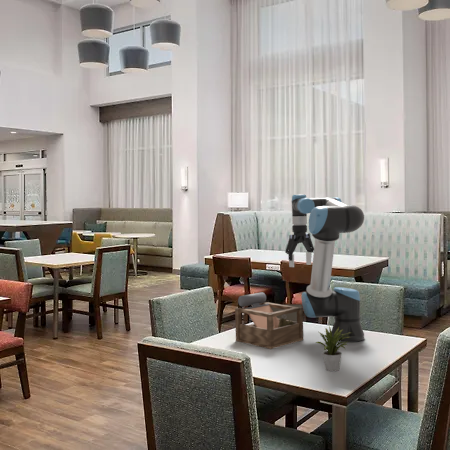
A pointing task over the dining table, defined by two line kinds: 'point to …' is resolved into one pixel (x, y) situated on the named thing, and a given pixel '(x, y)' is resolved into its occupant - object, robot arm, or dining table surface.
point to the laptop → (287, 316)
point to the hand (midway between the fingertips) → (300, 265)
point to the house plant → (332, 349)
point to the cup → (284, 322)
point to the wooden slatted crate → (270, 328)
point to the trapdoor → (258, 309)
